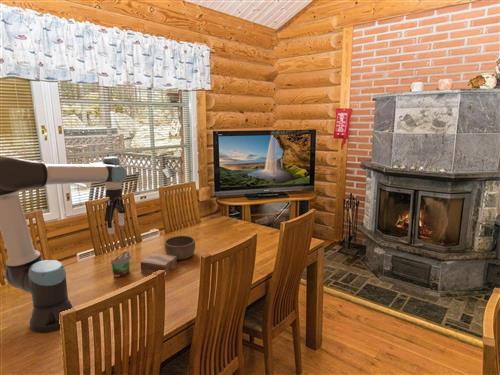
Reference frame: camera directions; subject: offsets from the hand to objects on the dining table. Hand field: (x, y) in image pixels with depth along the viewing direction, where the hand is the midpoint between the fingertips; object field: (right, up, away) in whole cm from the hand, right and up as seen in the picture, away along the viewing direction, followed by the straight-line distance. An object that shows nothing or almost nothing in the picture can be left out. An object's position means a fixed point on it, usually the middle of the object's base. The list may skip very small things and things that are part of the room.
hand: (116, 229), depth 170 cm
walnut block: (+20, -22, +7) cm, 30 cm away
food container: (+4, -23, +1) cm, 24 cm away
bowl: (+27, -19, +24) cm, 41 cm away
